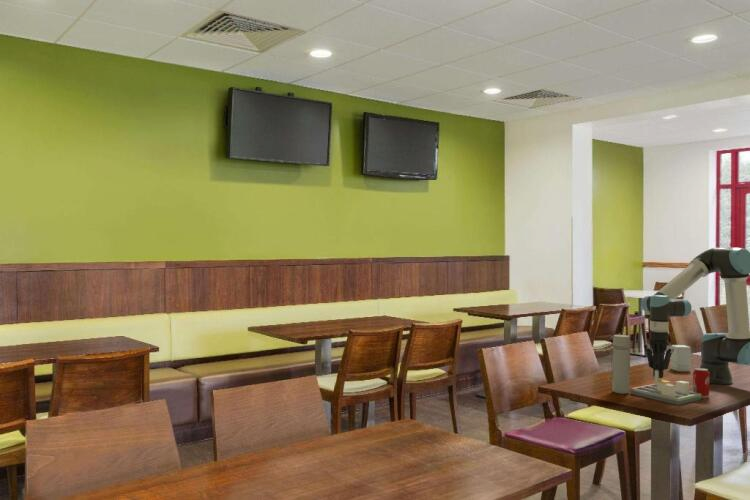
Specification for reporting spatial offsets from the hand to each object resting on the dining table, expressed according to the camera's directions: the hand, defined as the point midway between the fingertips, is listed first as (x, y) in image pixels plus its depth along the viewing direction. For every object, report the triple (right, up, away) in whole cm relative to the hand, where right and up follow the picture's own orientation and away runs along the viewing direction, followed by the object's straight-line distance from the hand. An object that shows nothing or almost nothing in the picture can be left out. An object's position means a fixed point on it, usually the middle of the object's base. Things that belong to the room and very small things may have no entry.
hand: (658, 384), depth 283 cm
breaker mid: (+1, -3, -2) cm, 4 cm away
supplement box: (+36, -4, +57) cm, 68 cm away
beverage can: (+18, -5, -2) cm, 18 cm away
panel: (+2, -5, -3) cm, 6 cm away
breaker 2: (+9, -3, -4) cm, 10 cm away
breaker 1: (0, -3, -10) cm, 10 cm away
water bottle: (-16, -4, +5) cm, 17 cm away
